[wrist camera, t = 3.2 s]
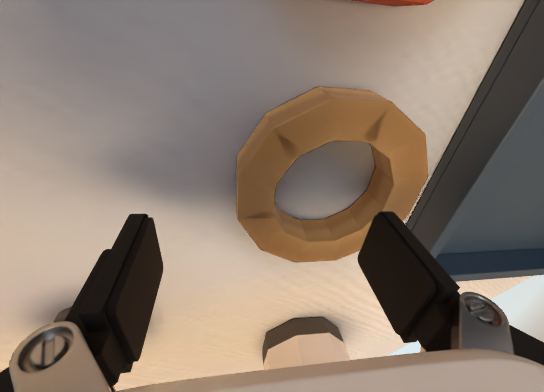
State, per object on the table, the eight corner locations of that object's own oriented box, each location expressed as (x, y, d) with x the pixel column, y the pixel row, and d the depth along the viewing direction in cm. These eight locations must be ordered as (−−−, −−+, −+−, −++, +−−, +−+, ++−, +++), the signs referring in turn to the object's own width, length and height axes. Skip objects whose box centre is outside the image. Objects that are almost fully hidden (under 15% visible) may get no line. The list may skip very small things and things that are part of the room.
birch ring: (238, 80, 11) (240, 91, 9) (434, 95, 13) (465, 106, 11) (235, 241, 16) (236, 266, 15) (372, 236, 18) (386, 258, 17)
